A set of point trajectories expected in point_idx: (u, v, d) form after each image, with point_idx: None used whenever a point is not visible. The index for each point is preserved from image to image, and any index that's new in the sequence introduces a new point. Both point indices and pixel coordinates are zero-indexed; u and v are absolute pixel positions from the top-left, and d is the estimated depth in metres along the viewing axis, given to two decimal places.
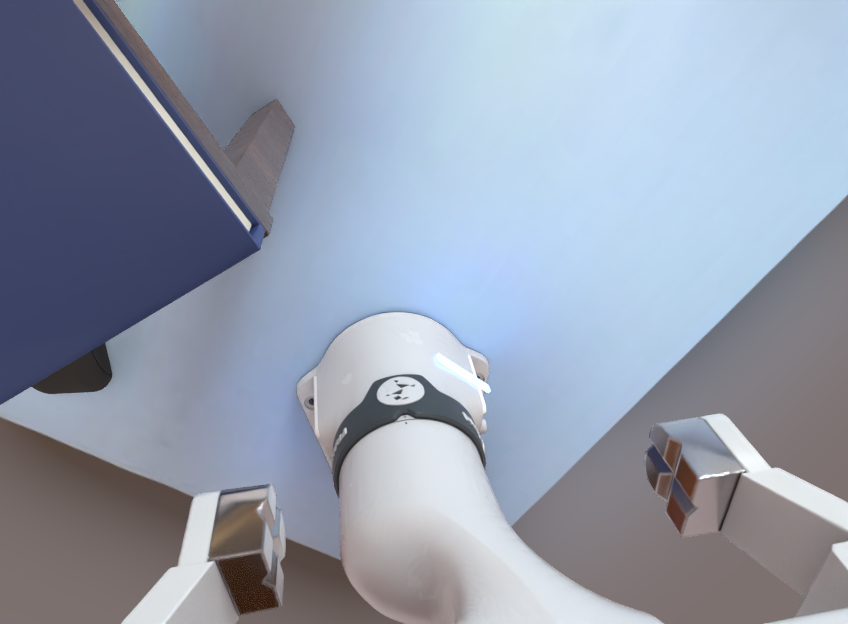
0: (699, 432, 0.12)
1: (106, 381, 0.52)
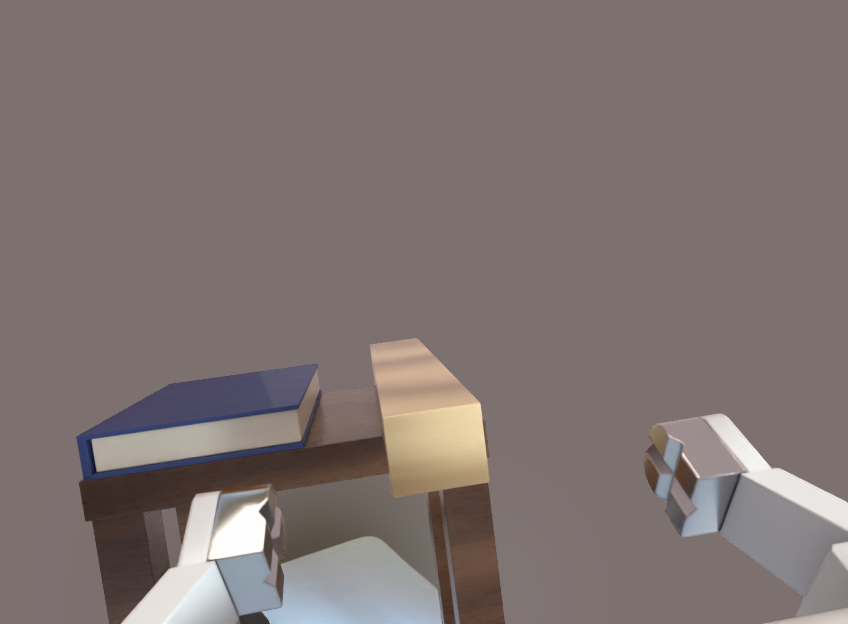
0: (699, 432, 0.12)
1: None
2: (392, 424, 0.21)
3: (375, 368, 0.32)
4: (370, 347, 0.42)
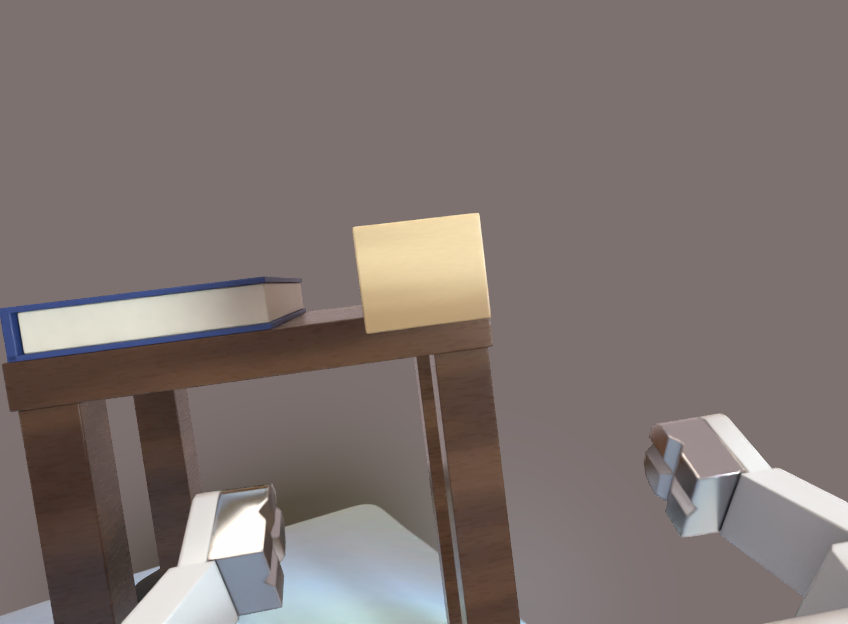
0: (699, 432, 0.12)
1: None
2: (365, 237, 0.16)
3: None
4: None
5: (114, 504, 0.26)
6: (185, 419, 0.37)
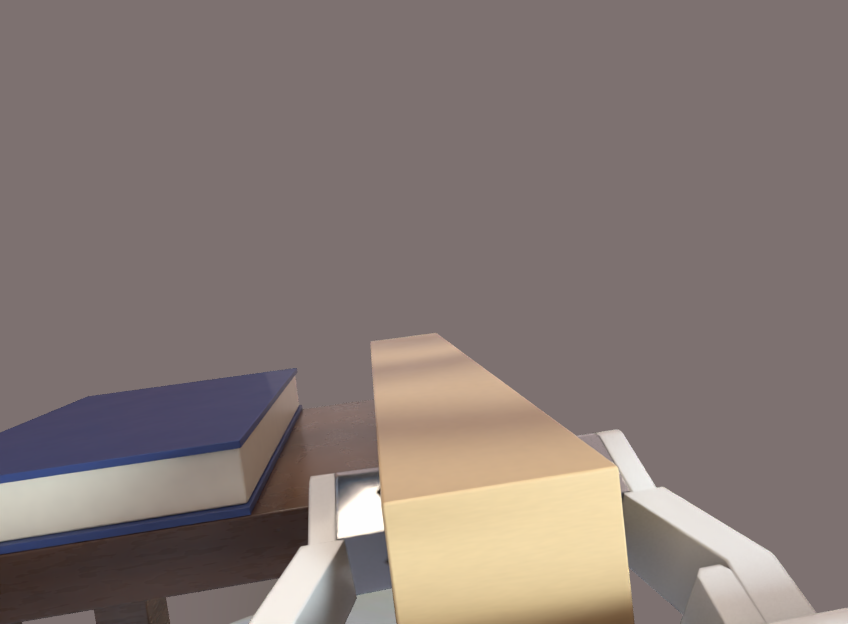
0: None
1: None
2: (406, 520, 0.08)
3: (375, 376, 0.20)
4: None
5: None
6: None
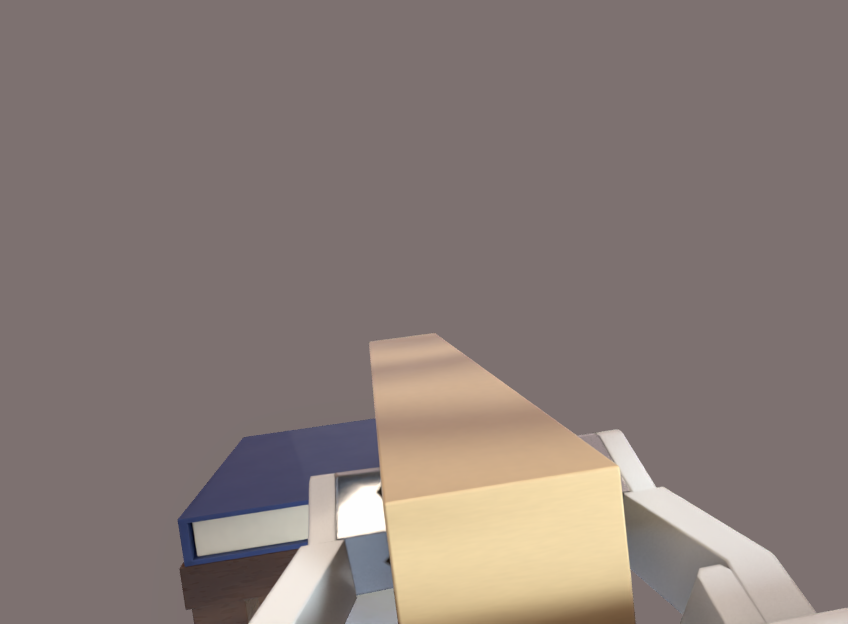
0: None
1: None
2: (408, 520, 0.08)
3: (374, 376, 0.20)
4: (369, 345, 0.30)
5: None
6: None
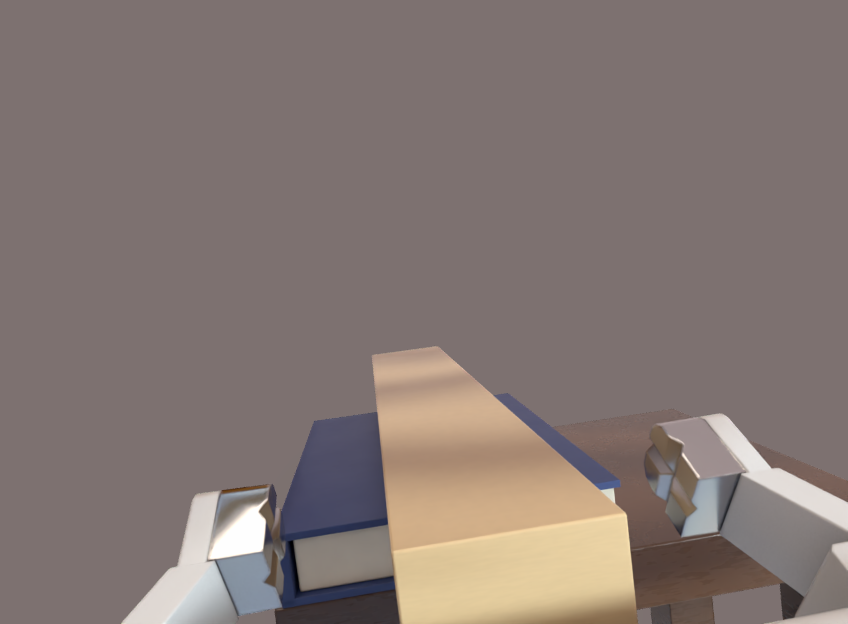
0: (699, 432, 0.12)
1: None
2: (415, 568, 0.09)
3: (378, 397, 0.20)
4: (372, 359, 0.30)
5: None
6: None
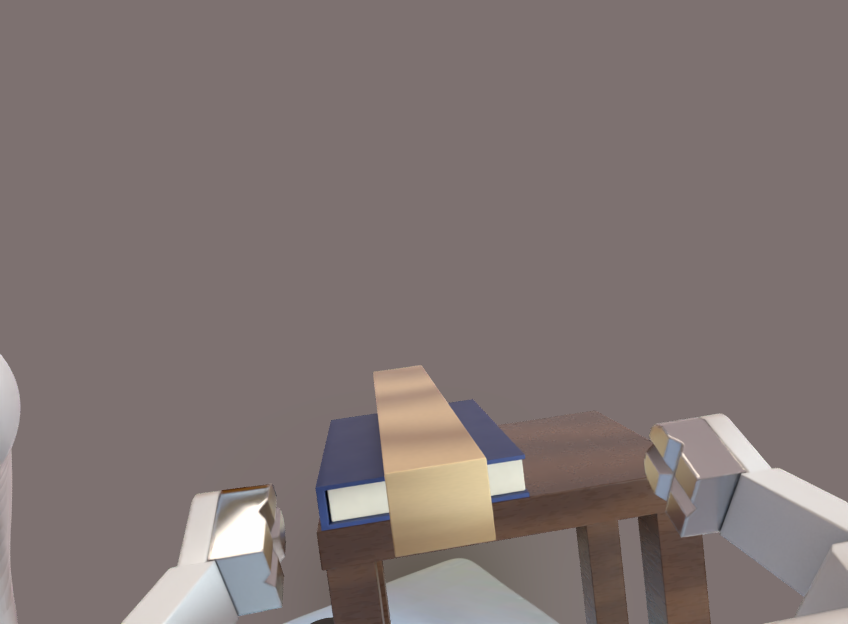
0: (699, 432, 0.12)
1: None
2: (394, 480, 0.20)
3: (378, 404, 0.31)
4: (373, 375, 0.41)
5: None
6: None
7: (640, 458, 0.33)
